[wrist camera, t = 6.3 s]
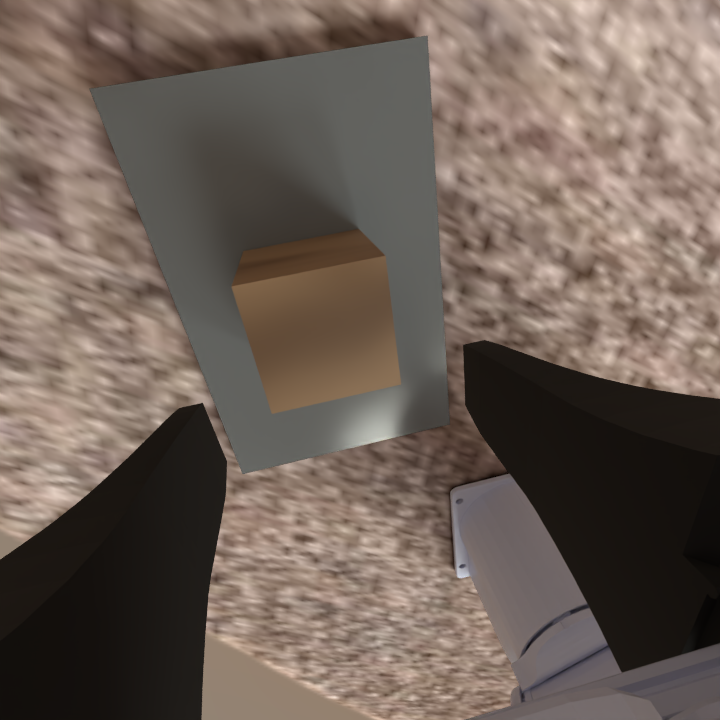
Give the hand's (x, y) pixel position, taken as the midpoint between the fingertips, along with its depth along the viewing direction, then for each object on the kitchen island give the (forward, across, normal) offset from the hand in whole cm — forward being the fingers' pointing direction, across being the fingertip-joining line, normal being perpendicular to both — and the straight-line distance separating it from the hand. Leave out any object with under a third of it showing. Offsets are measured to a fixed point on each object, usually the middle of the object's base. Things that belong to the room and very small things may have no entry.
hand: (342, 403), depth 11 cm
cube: (+9, 0, 0) cm, 9 cm away
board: (+10, 0, 0) cm, 10 cm away
